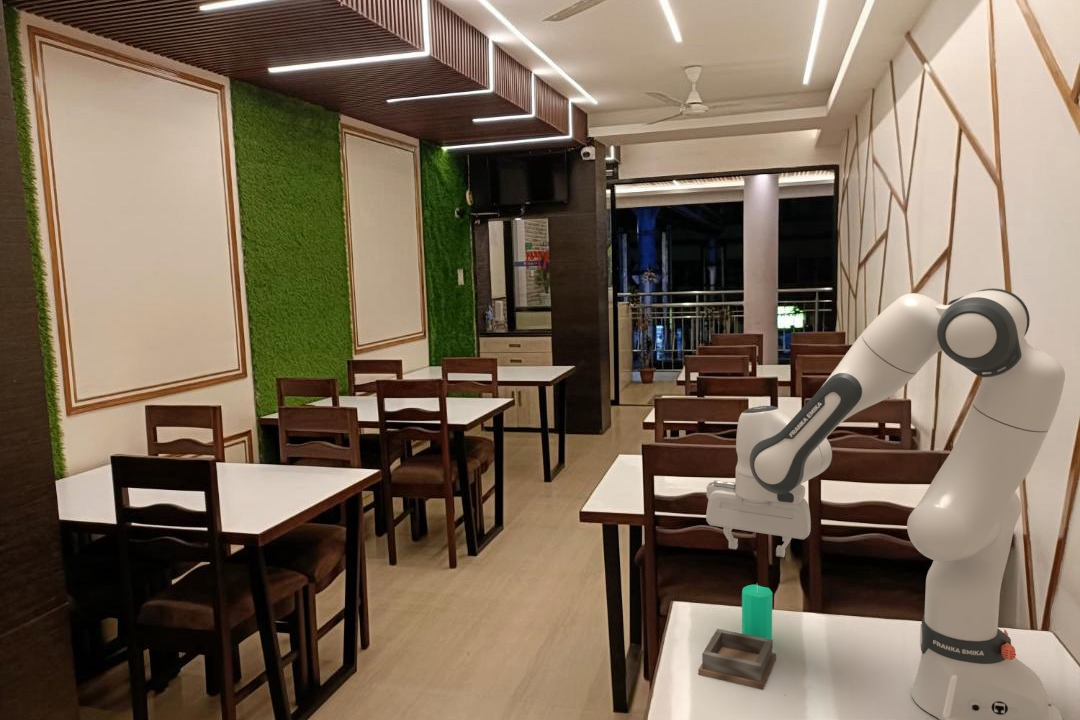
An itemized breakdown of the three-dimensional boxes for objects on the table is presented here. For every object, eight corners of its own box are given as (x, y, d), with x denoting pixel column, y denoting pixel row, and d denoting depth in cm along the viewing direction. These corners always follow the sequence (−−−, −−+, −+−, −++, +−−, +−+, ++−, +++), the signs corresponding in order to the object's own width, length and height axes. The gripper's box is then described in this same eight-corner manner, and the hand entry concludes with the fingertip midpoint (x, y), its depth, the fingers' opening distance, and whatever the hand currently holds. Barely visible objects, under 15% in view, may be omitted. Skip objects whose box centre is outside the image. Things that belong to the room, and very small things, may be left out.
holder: (776, 658, 150) (776, 638, 150) (763, 689, 140) (763, 668, 139) (715, 645, 156) (715, 626, 155) (698, 674, 145) (698, 654, 145)
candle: (765, 649, 154) (766, 592, 152) (737, 641, 157) (737, 585, 156) (776, 637, 158) (777, 581, 157) (748, 629, 162) (748, 575, 160)
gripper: (702, 483, 155) (701, 548, 157) (808, 497, 146) (805, 566, 148) (710, 475, 161) (709, 538, 163) (813, 487, 151) (811, 554, 153)
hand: (756, 551), depth 155 cm, fingers open, 8 cm apart
